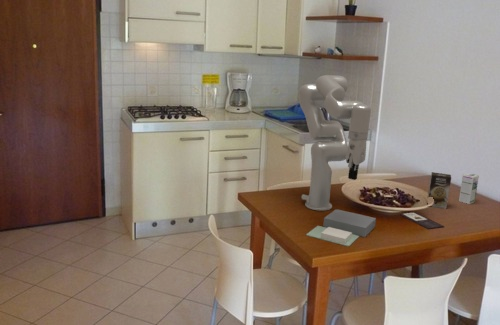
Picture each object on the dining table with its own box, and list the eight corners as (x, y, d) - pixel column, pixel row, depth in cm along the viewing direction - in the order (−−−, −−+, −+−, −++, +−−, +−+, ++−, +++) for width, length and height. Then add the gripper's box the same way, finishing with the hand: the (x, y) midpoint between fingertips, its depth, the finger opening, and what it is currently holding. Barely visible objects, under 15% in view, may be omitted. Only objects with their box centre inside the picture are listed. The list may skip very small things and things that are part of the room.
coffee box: (426, 206, 238) (431, 174, 234) (426, 202, 244) (431, 171, 240) (446, 209, 235) (451, 177, 231) (445, 205, 241) (450, 174, 237)
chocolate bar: (428, 228, 207) (400, 214, 223) (427, 230, 208) (400, 216, 224) (444, 226, 211) (415, 212, 227) (443, 228, 211) (415, 214, 227)
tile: (328, 226, 198) (328, 231, 199) (321, 232, 191) (320, 237, 192) (352, 232, 193) (351, 237, 194) (345, 238, 186) (344, 243, 187)
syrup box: (469, 204, 244) (474, 177, 240) (458, 201, 248) (462, 174, 245) (474, 202, 247) (479, 175, 244) (463, 199, 252) (468, 172, 248)
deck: (323, 226, 204) (324, 218, 203) (335, 217, 216) (336, 209, 215) (364, 237, 195) (365, 228, 194) (374, 226, 207) (376, 218, 206)
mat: (306, 235, 194) (306, 234, 194) (317, 226, 204) (317, 225, 204) (348, 246, 185) (348, 245, 185) (359, 236, 196) (359, 235, 195)
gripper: (360, 140, 186) (354, 185, 191) (373, 134, 198) (367, 176, 203) (341, 136, 190) (336, 181, 195) (356, 131, 202) (350, 172, 207)
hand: (352, 178), depth 199 cm, fingers closed
